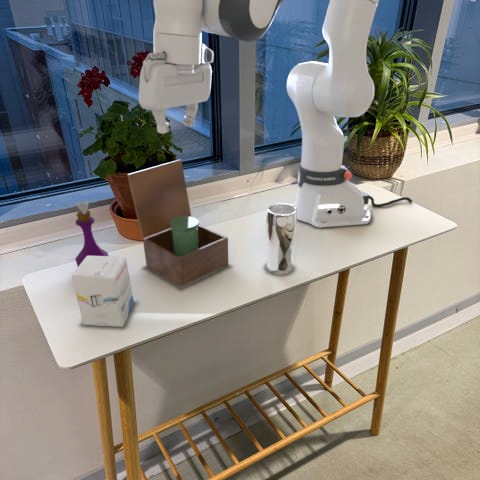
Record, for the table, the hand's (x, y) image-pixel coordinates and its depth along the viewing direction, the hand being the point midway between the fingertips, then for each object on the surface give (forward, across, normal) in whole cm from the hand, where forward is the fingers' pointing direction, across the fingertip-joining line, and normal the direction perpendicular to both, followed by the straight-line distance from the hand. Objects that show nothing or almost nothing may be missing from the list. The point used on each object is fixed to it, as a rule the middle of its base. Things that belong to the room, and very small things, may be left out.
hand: (176, 129), depth 98 cm
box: (+32, +2, -2) cm, 32 cm away
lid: (+17, +4, +6) cm, 18 cm away
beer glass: (+30, +12, -22) cm, 39 cm away
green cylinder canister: (+31, +2, -2) cm, 31 cm away
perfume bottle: (+34, -10, +15) cm, 38 cm away
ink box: (+34, -21, +2) cm, 40 cm away
